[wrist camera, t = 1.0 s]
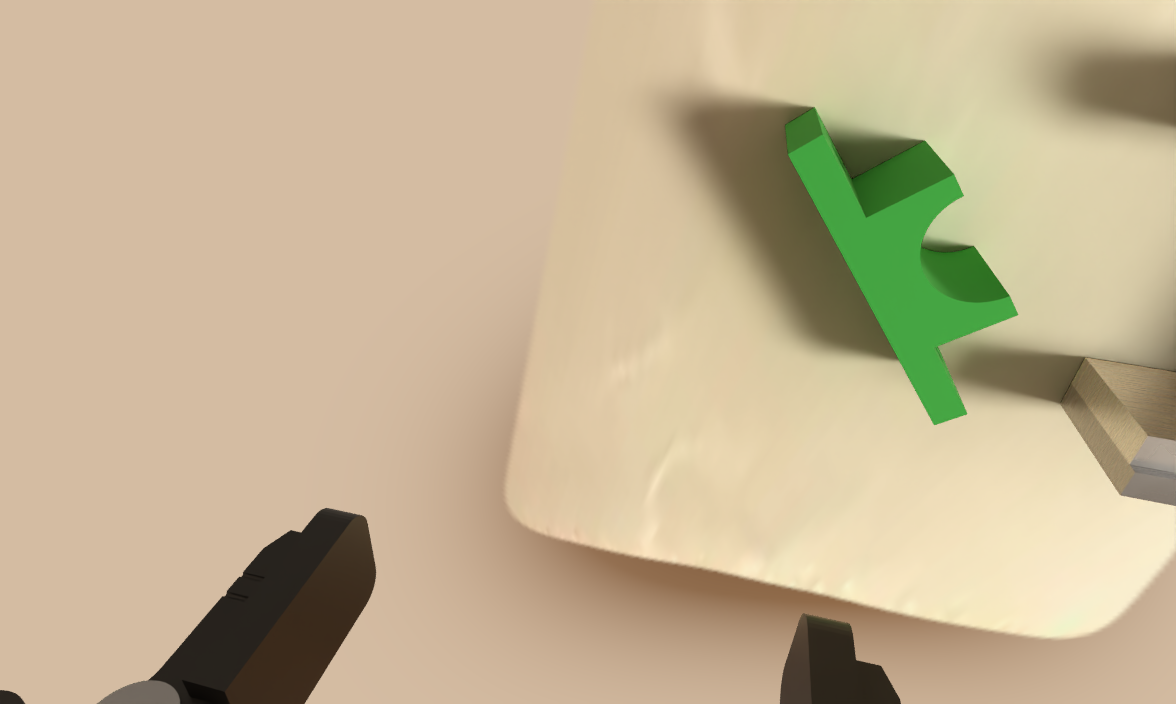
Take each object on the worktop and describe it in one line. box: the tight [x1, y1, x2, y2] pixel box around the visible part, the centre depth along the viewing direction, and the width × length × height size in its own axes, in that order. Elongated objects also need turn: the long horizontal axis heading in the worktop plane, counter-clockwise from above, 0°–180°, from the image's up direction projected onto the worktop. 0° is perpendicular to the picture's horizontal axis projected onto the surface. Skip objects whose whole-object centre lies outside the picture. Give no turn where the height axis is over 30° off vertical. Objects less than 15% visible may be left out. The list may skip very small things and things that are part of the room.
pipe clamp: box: [785, 107, 1018, 425], centre depth 23 cm, size 11×4×5 cm, turn 35°
